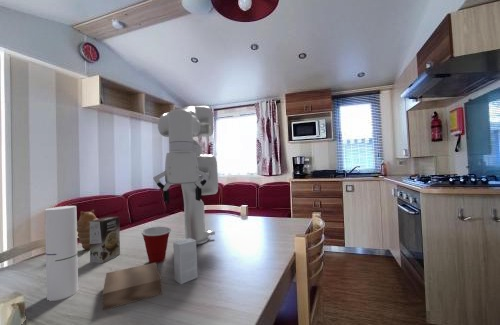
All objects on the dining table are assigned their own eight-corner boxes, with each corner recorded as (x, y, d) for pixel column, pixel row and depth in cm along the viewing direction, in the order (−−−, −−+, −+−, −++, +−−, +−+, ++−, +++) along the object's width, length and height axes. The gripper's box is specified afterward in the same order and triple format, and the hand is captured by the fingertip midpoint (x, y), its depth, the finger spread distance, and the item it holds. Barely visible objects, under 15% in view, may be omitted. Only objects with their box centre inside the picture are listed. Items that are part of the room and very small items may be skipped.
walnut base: (155, 274, 77) (155, 262, 77) (161, 293, 65) (161, 279, 65) (106, 286, 71) (106, 273, 71) (102, 309, 58) (102, 294, 58)
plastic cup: (153, 268, 82) (152, 234, 83) (136, 263, 88) (135, 231, 88) (177, 257, 91) (176, 227, 92) (160, 253, 97) (159, 224, 98)
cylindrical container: (58, 288, 70) (57, 206, 71) (83, 286, 71) (81, 205, 72) (39, 302, 63) (38, 210, 64) (67, 299, 64) (65, 209, 65)
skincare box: (191, 273, 77) (190, 237, 77) (198, 277, 74) (196, 240, 74) (174, 280, 73) (172, 242, 73) (180, 285, 70) (179, 245, 70)
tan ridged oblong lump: (79, 254, 100) (78, 212, 101) (73, 250, 105) (73, 211, 106) (102, 248, 107) (101, 209, 108) (95, 245, 112) (95, 208, 113)
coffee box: (103, 263, 89) (102, 221, 90) (89, 262, 91) (88, 221, 91) (121, 254, 98) (120, 216, 99) (108, 253, 99) (107, 216, 100)
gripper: (204, 149, 82) (205, 198, 81) (151, 149, 74) (152, 203, 73) (210, 147, 75) (212, 200, 75) (153, 147, 67) (155, 206, 67)
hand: (183, 201), depth 74 cm, fingers open, 9 cm apart
